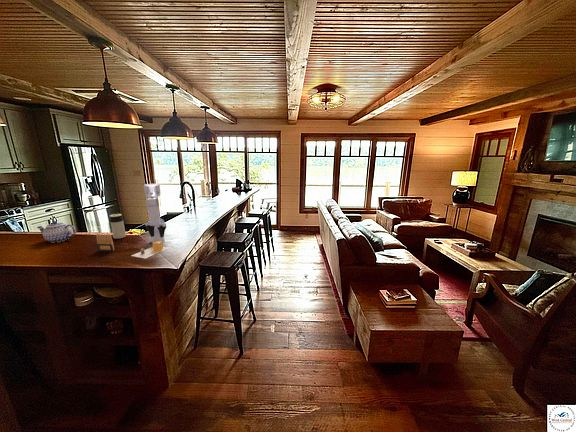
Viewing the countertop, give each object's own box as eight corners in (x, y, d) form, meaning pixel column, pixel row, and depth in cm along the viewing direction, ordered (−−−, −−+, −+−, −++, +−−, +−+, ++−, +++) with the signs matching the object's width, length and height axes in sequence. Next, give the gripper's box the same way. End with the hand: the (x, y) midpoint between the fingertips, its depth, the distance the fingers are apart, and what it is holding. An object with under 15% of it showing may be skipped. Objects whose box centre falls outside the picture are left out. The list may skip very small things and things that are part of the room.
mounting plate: (131, 257, 142) (129, 250, 141) (155, 247, 159) (154, 240, 157) (145, 260, 138) (144, 253, 137) (169, 249, 155) (168, 242, 154)
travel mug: (127, 235, 183) (124, 213, 178) (122, 238, 175) (118, 216, 170) (117, 235, 181) (112, 213, 177) (111, 239, 174) (106, 216, 169)
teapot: (85, 236, 178) (81, 218, 175) (68, 243, 163) (63, 224, 160) (51, 237, 177) (46, 218, 173) (31, 244, 162) (25, 224, 158)
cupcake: (151, 250, 149) (150, 243, 148) (158, 247, 154) (157, 240, 153) (157, 251, 148) (156, 244, 147) (164, 248, 153) (163, 241, 152)
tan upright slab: (115, 250, 153) (112, 233, 150) (113, 251, 151) (110, 234, 148) (100, 250, 154) (96, 233, 151) (98, 251, 152) (94, 234, 149)
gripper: (140, 217, 144) (143, 237, 147) (159, 218, 141) (161, 239, 143) (149, 215, 151) (152, 235, 154) (167, 215, 147) (170, 236, 150)
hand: (157, 236), depth 149 cm, fingers open, 7 cm apart
